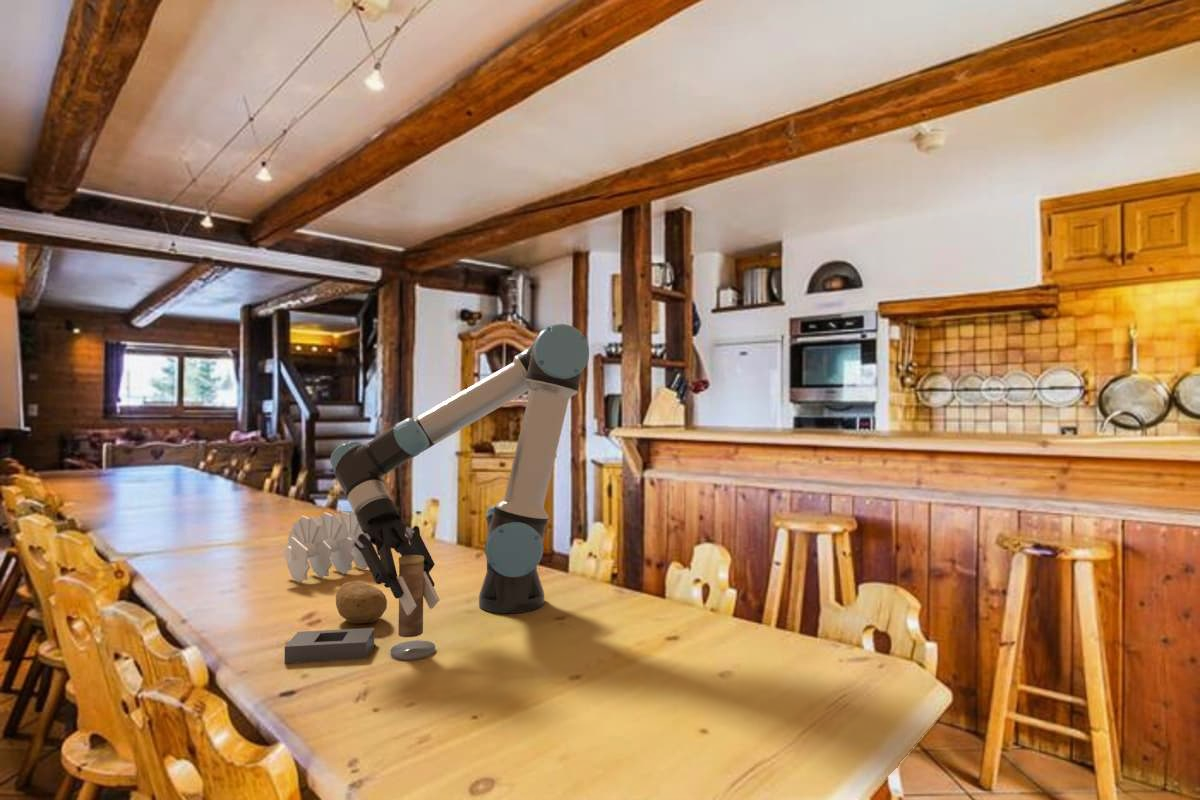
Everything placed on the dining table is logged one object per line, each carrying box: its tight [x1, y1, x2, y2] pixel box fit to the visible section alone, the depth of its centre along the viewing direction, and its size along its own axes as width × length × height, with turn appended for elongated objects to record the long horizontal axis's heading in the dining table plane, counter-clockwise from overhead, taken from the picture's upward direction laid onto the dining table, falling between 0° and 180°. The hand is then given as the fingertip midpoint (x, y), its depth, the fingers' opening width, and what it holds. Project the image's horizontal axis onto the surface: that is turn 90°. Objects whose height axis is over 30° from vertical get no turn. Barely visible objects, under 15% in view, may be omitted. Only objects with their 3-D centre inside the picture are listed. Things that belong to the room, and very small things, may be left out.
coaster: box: [390, 639, 436, 661], centre depth 122 cm, size 8×8×1 cm
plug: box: [398, 555, 424, 638], centre depth 123 cm, size 5×5×14 cm
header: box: [284, 627, 375, 664], centre depth 122 cm, size 14×8×3 cm, turn 99°
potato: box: [335, 580, 388, 625], centre depth 140 cm, size 10×14×8 cm
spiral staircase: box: [283, 509, 374, 584], centre depth 180 cm, size 18×18×25 cm
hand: (423, 607), depth 120 cm, fingers closed on plug, 4 cm apart
